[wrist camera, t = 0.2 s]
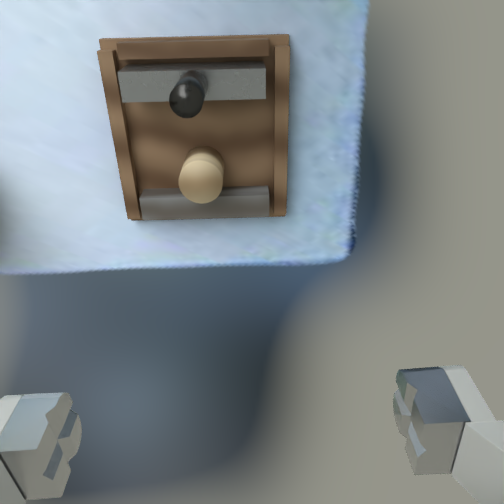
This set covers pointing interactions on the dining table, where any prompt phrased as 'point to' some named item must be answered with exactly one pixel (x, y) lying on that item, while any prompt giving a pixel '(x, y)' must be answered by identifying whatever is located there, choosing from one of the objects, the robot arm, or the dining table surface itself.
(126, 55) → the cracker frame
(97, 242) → the dining table surface
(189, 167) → the beige wooden cylinder
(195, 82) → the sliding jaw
